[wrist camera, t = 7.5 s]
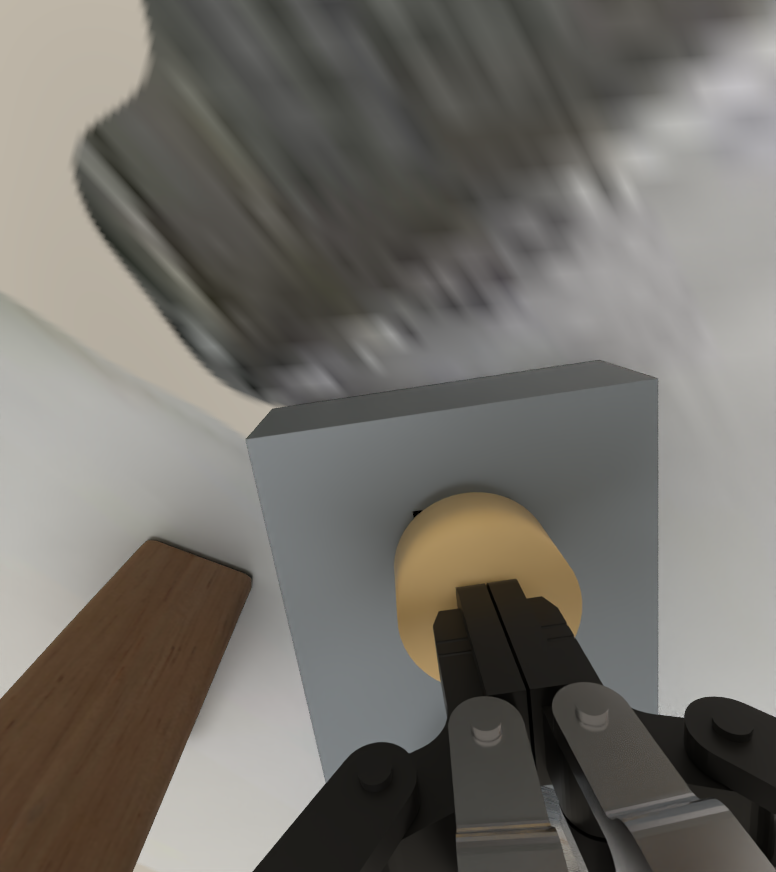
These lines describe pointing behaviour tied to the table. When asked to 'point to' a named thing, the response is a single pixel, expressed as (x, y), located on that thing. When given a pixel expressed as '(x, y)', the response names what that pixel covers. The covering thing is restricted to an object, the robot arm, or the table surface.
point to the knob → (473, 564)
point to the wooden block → (112, 713)
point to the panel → (440, 478)
